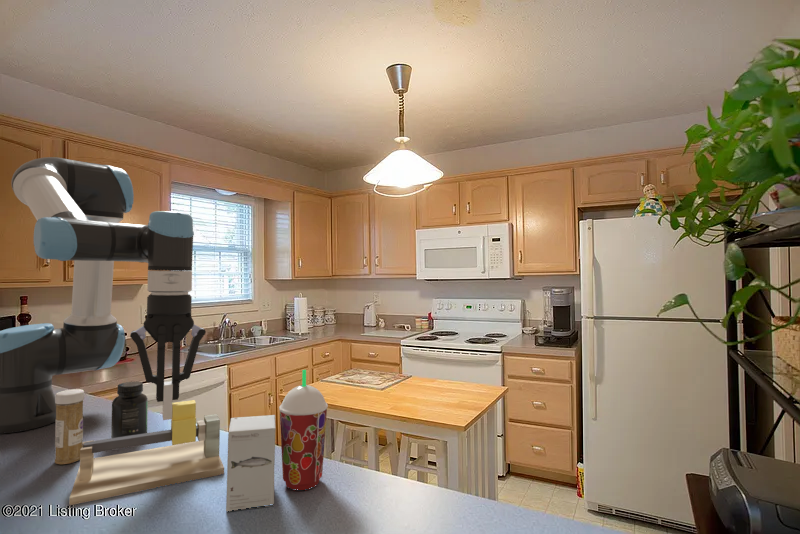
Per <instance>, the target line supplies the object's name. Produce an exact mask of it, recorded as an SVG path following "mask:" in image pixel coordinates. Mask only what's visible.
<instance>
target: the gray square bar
mask: <svg viewBox="0 0 800 534" xmlns="http://www.w3.org/2000/svg"><path fill="white" fill-rule="evenodd" d="M197 437H198V426H197V425H196V438H197ZM89 441H90V442H86V441H83V442H84V445H83V448H85V447H92V453H94V454H96V453H102V452H109V451H114V450H121V449H127V448H134V447H140V446H147V445H151V444H158V443H159V444H160V443H165V442H172V429H171V428H170V429H165V430H160V431H153V432H147V433H144V434H138V435H131V436H124V437H117V438H111V437H110V438H105V439H98V440H94V441H93V440H89Z"/></svg>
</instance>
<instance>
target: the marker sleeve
mask: <svg viewBox="0 0 800 534" xmlns="http://www.w3.org/2000/svg"><path fill="white" fill-rule="evenodd" d="M196 408H197V403H196V400H195V399H193V400H185V401H177V402H172V419H170V420H171V421H170V423H171V424H170V430H171V429H172V441H171V446H172V445H178V444H184V443H190V442H196V441H197V439H196V438H197V437H196V426H197V417H196V416H197V411H196V410H197V409H196Z"/></svg>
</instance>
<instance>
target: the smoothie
mask: <svg viewBox="0 0 800 534" xmlns="http://www.w3.org/2000/svg"><path fill="white" fill-rule="evenodd" d="M301 372H302V376H301V377H302V379H301V385H297V386H295V387H293V388H292V389H290V390H289V391H288V392H287V393H286V395H285V397H284V398H283V401H282V402H281V404H280V405H279V407H278V409H279V423H280V424H279V425H280V443H281V444H280V445H281V447H280V449H281V467H282V480H283V481H284V482H285V485H286V488H288V487H289V488H291V489H296V490H297V489H298V490H305V489H309V488H311V487H314V486H315V485H317V484H318V483H319V484H320V480H321V478H322V477H323V470H324V469H323V468H324V455H325V440H326V425H327V416H328V415H327V414H328V413H327V412H328V407H329V405H328V403H327V402H326V400H325V397H324V395H323V394H322V392H321V391H320V390H319V389H318V388H316V387H314V386H312V385H309V384H307V369H302V371H301ZM319 484H318V485H319ZM318 485H317V486H318ZM289 488H288V489H289ZM314 488H315V487H314ZM291 489H290V490H291ZM309 490H310V489H309ZM305 491H306V490H305Z"/></svg>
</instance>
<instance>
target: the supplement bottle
mask: <svg viewBox="0 0 800 534" xmlns="http://www.w3.org/2000/svg"><path fill="white" fill-rule="evenodd" d="M143 392H144V382H142V381H127V382H122V383H119V384H118V385H117V391H116V394H117V396H115V397H114V398H113V400H112V401H111V422H110V423H111V428H110V429H111V430H110V433H111V436H110V438H117V437H124V436H131V435H138V434H144V433H148V415H149V414H148V411H149V410H148V408H149V405H148V404H149V403H148V402H149V399H148V396H147V395H146V394H145V393H143Z"/></svg>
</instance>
